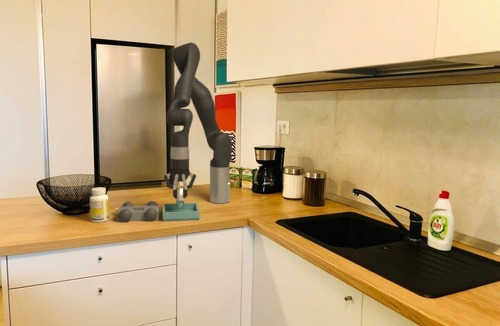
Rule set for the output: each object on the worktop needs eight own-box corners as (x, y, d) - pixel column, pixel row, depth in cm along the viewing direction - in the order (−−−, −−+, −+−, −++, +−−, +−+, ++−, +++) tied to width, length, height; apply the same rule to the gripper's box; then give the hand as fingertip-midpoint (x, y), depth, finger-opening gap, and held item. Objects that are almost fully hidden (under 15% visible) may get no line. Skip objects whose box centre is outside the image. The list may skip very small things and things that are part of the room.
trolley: (159, 211, 178) (159, 200, 177) (158, 221, 165) (158, 208, 164) (115, 213, 175) (115, 201, 174) (111, 222, 161) (110, 210, 161)
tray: (197, 210, 182) (197, 202, 181) (199, 219, 167) (199, 211, 167) (163, 211, 179) (163, 203, 178) (162, 221, 165) (162, 212, 164)
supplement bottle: (103, 216, 170) (102, 186, 168) (113, 219, 166) (111, 188, 164) (87, 220, 165) (85, 188, 163) (96, 223, 160) (95, 191, 158)
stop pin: (183, 207, 175) (183, 186, 173) (184, 209, 171) (184, 188, 170) (176, 207, 174) (176, 187, 173) (176, 209, 171) (176, 188, 169)
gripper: (196, 156, 174) (196, 195, 177) (162, 156, 172) (163, 196, 174) (197, 158, 167) (197, 199, 170) (162, 158, 164) (162, 200, 167)
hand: (180, 197), depth 172 cm, fingers closed on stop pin, 3 cm apart
